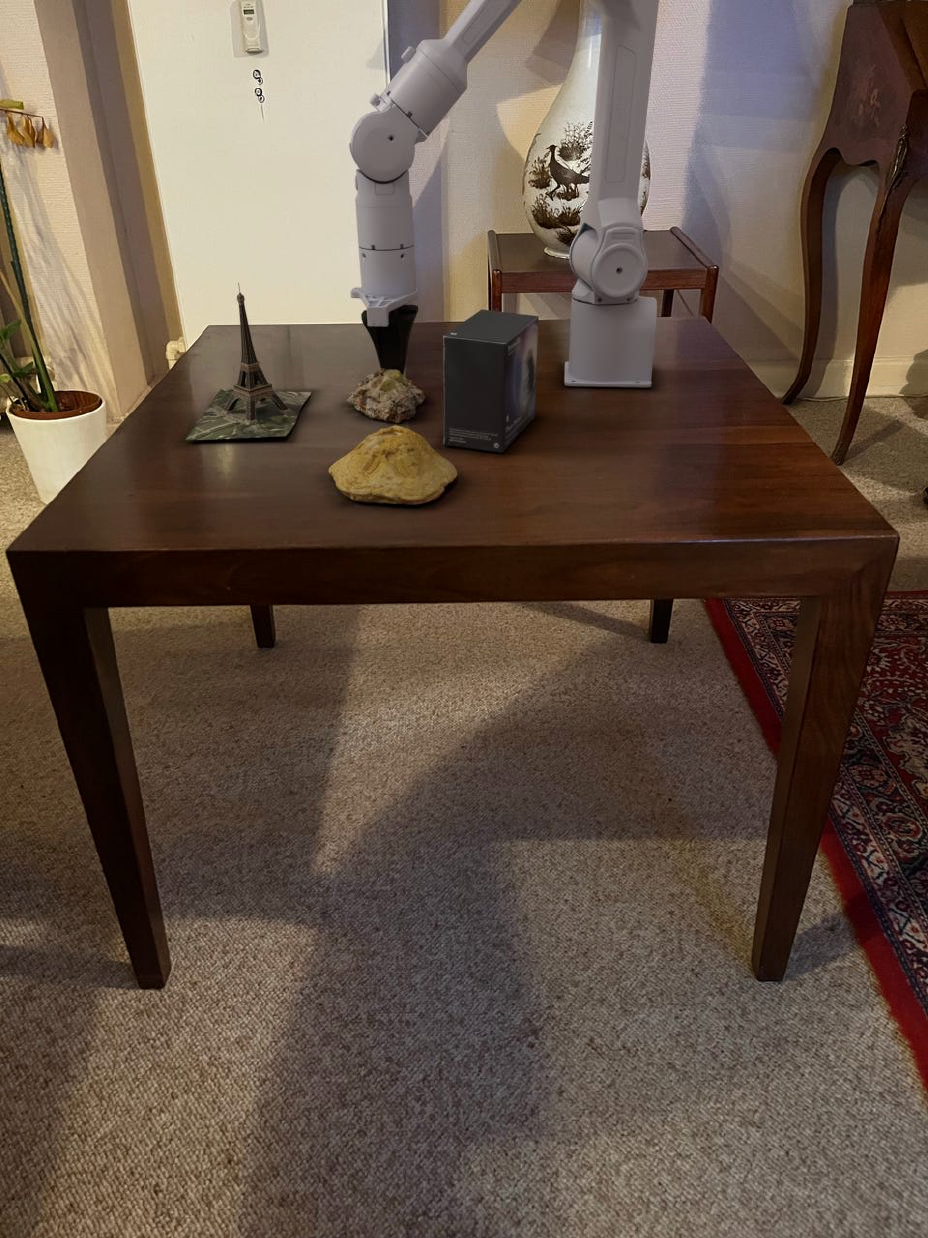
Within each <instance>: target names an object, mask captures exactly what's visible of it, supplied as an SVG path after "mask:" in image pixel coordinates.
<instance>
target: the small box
mask: <svg viewBox="0 0 928 1238" xmlns="http://www.w3.org/2000/svg"><path fill="white" fill-rule="evenodd" d="M539 319H540V316H539V315H533V314H532V315H531V314H524V313H523V314H522V313H515V312H507V311H499V310H490V309H480V310H479V311H477V312H476V313H474V314H473V315H471V316H470V317H468V318H467V319H466V320H464V321H463V322H461V323H460V324H459V325H457V326H455V327H454V328H452V329H451V330H450V331H448V332H447V333H445V334H444V335H443V336H442V368H443V369H442V370H443V371H442V373H443V375H442V382H443V387H442V388H443V439H442V440H443V442H442V445H443V446H447V447H448V446H449V447H458V448H463V449H472V450H476V451H477V450H478V451H486V452H492V453H499V454H500V453H501V454H502V453H504V452H505V451H506V450H507V449H508V447H510V445H511V444H512V443H514V442H515V440H516V439H517V437H518V436H520V435H521V433H522V432H524V430H525V429H526V428H527V427H528V426H529V424H531V422H532V421H533V420H534V419H535V417H536V394H537V393H536V392H537V391H536V390H537V371H538V370H537V366H538V345H539V344H538V343H539V342H538V340H539V323H540V322H539Z"/></svg>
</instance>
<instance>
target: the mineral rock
mask: <svg viewBox="0 0 928 1238" xmlns="http://www.w3.org/2000/svg"><path fill="white" fill-rule="evenodd" d="M348 396H349V397H347V398H346V401H347V403H348V404H350V405H351V406H353V407H354V409H355V410H356V411H357V412H361V413H363V414H364V415H365V416H367V417H369V418H370V419H372V420H373V419H374V420H375V419H376V420H382V421H385V422H393V423H395V424H401V423H402V422H403V421H405V420H410V419H412V418H414V417H415V415H416V413H417V412H416V408H417V407H418V406H421V405H423V402H424V401H425V398H426V395H425V391H424V390H421V389H420V388H418V387H417V383H416V382H415V380H412V379H409V378H408V377H407V376H406V375H404V374H403V375H402V374H401V373H400V371H398V370H387V369H381V368H380V369H378V368H377V370H376V371H375V372H372V373H369V374H366V376H365V378H364V379H362V380H360V382H358V384H357V385H356V386H355V391H351V392H349V394H348Z"/></svg>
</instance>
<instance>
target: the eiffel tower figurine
mask: <svg viewBox="0 0 928 1238" xmlns="http://www.w3.org/2000/svg"><path fill="white" fill-rule="evenodd" d="M237 285H238V291H239V292H238V294H237V295H236V301H237V303H238V311H239V312H238V315H239V326H240V345H241V347H240V348H241V349H240V350H241V355H240V357H241V359H240V362H239V365H240V367H239V373H238V378H237V382H236V383H235V384H233V388H220V389H219V391H218V392H217V393H216V395H215V396H214V398H213V399H212V401H211V402H210V404H209V405H208V406H207V408H206V409H204V411H203V413H202V415H201V416H200V417H199V419H198V420H197V421H196V423H195V425H194V426H193V427H192V429H191V430H190V432H189V434H188V435H187V436H186V438H185V441H206V440H207V441H208V440H211V441H212V440H231V439H232V440H233V439H251V438H252V439H253V438H269V437H287V436H288V434H289V433H290V431H291V430H292V429H293V427H294V425H295V424H296V422H297V419H298V416H299V415H300V414H301V413H300V411H301V409H302V408H303V405H304V404H305V402H306V401H307V400H308V398H309V397H311V394H312V393H313V392H312V391H275V390H274V389H273V384H272V383H270V382H268V380H267V378H266V377H265V374H264V372H263V370H262V368H261V366H260V364H261V362H260V361H258V358H257V355H256V351H255V346H254V343H253V338H252V335H251V330H250V326H249V320H248V314H247V311H246V304H245V301H246V298H245V295H244V294H242V293H241V288H240V287H241V286H240V283H239V282H238V283H237Z"/></svg>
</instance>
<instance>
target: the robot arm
mask: <svg viewBox="0 0 928 1238" xmlns="http://www.w3.org/2000/svg"><path fill="white" fill-rule="evenodd" d="M522 1H523V0H470V1H469V2H468V3H467V5H466V6H465V7H464V8H463V10H462V12H461V13H460V15H459V16H458V17H457V19H456V20H455V21H454V22H453V24H452V25H451V27H450V28H449V30H448V31H447V32H446V33H445V35H444V36H443V38H441V39H423V40H421V41H420V43H419V44H418V45H417V46H416V48H414V47H413V46H407V48H406V50H405V51H404V52H403V53H402V55H401V57H400V58H401V60H402V61H403V62H404V63H403V65H401V68H399V70H398V71H397V72H396V74H395V75H394V76H393V78H392V79H391V80H390V82H389V83H388V84H387V86H385V88H384V89H383V91H382V92H381V93H380V94H378V93H377V92H374V93H373V95H372V96H371V98H369V103H370V104H371V106H372V107H373V108H374V109H375V110H376V111H371V112H369V113H366V114H364V115H363V116H361V117H360V118H359V119H358V120H357V122H356V123H355V124H354V127H353V128H352V132H351V135H350V136H351V137H350V142H349V144H348V146H349V147H348V148H349V152H350V156H351V158H352V160H353V161H354V163H355V164H356V166H357V167H358V168H357V169H355V175H354V188H355V190H356V191H357V193H356V195H355V199H354V202H355V204H354V205H355V216H356V217H355V219H356V230H357V231H356V232H357V245H358V247H357V248H358V257H359V272H360V286H359V287H353V288H352V289H351V290H350V298H352V299H359V300H361V302H362V303H363V305H364V306H365V308H366V309H364V310H363V311H362V312H361V314H360V318H361V322H362V324H363V326H364V327H365V329H366V331H367V333H368V334H369V336H370V338H371V341H372V343H373V346H374V348H375V352H376V355H377V359H378V363H379V367H380V369H387V370H398V371H400V373H401V374H402V375H403V376H404V373H405V369H406V364H407V357H408V348H409V342H410V337H411V332H412V328H413V326H414V322H415V320H416V317H417V315H418V313H419V306H418V305H416V304H409V303H412V302H413V301H416V299H418V298H419V289H418V287H417V280H416V251H415V233H414V206H413V204H414V203H413V196H412V194H411V193H410V192H411V190H410V189H411V188H410V170H409V169H411V168H412V165H413V163H414V161H415V153H416V145H417V144H419V143H424V142H425V141H426V140H427V139H428V137H430V136H431V134H432V133H433V132H434V130H435V129H436V128H437V126H438V125H439V124H440V123H441V121H442V120H443V119H444V118H445V117H446V115H448V113H449V112H450V110H451V109H452V108H453V107H454V105H455V104H456V103H457V102H458V101H459V100H460V98H461V97H462V96H463V94H464V93H465V92H466V90H467V89H468V66H469V64H470V62H472V60H473V59H474V58H475V57H476V56H477V54H478V53H479V52H480V50H481V49H482V48H484V46H485V45H486V44H487V43H488V41H489V40H491V38H492V37H493V36H494V34H495V33H496V32H497V31H498V30H499V29H500V27H501V26H502V25H503V23H504V22H506V21H507V19H508V18H509V17H510V16H511V14H512V13H513V12H514V11H515V10H516V8H517V7H518V6H519V5H520V4H521V2H522ZM586 1H587V2H588V3H589V4H590V6H591V7H592V8H593V9H594V10H595V11H596V13H597V14H598V15H599V16H600V18H601V23H602V24H601V33H600V44H599V45H600V46H599V56H598V57H599V58H598V67H597V69H598V70H597V82H596V95H595V107H594V119H593V129H592V130H593V132H592V143H591V156H590V166H589V168H590V169H589V178H588V179H589V180H588V190H587V191H588V193H587V198H586V201H585V202H584V205H583V207H582V210H581V212H580V221H579V227H578V230H577V233H576V235H575V237H573V240H572V242H571V245H570V247H569V251H568V254H569V255H568V259H569V261H568V262H569V265H570V268H571V270H572V272H573V274H574V275H575V276H576V277H577V280H576V282H575V285H574V286H573V288H572V290H571V303H570V325H569V345H568V346H569V348H568V360H567V361H565V362H564V383H563V384H564V386H565V387H588V388H589V387H591V388H592V387H594V388H596V387H597V388H599V387H600V388H606V387H607V388H651V387H652V384H653V383H652V376H653V367H655V359H656V350H655V345H656V335H657V322H658V321H657V320H658V318H657V317H658V302H657V298H656V297H652V296H642V295H640V289H642V287H643V285H644V283H645V282H646V278H647V276H648V269H649V261H648V256H647V254H646V250H645V247H644V243H643V235H644V222H643V219H642V214H641V211H640V206H639V202H638V200H639V191H640V181H641V174H642V173H641V171H642V165H643V164H642V163H643V155H644V154H643V153H644V146H645V145H644V143H645V137H646V136H645V134H646V125H647V116H648V108H649V107H648V106H649V97H650V87H651V79H652V72H653V71H652V70H653V60H654V51H655V41H656V31H657V23H658V13H659V5H660V4H659V3H660V0H586Z"/></svg>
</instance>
